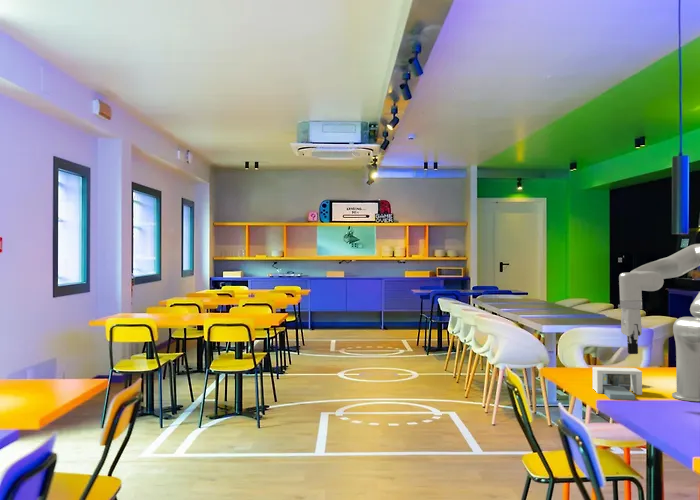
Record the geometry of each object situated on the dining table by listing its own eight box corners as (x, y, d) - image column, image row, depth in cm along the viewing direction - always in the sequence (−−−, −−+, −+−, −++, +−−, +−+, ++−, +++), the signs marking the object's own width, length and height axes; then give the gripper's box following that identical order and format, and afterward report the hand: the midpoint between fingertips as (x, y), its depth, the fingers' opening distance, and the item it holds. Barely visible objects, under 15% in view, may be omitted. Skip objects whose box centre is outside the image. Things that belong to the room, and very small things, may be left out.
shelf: (635, 390, 248) (635, 368, 248) (642, 394, 240) (641, 371, 241) (592, 389, 251) (592, 367, 251) (597, 393, 243) (597, 370, 243)
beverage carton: (593, 386, 258) (593, 370, 259) (626, 382, 266) (625, 367, 266) (607, 389, 251) (607, 373, 251) (641, 386, 259) (641, 370, 259)
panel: (623, 392, 247) (623, 386, 247) (635, 401, 231) (635, 395, 231) (600, 391, 248) (600, 385, 248) (610, 400, 232) (610, 394, 233)
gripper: (615, 303, 235) (616, 350, 235) (626, 307, 220) (628, 357, 220) (635, 303, 234) (637, 350, 233) (648, 306, 219) (650, 357, 219)
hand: (632, 353), depth 227 cm, fingers closed
